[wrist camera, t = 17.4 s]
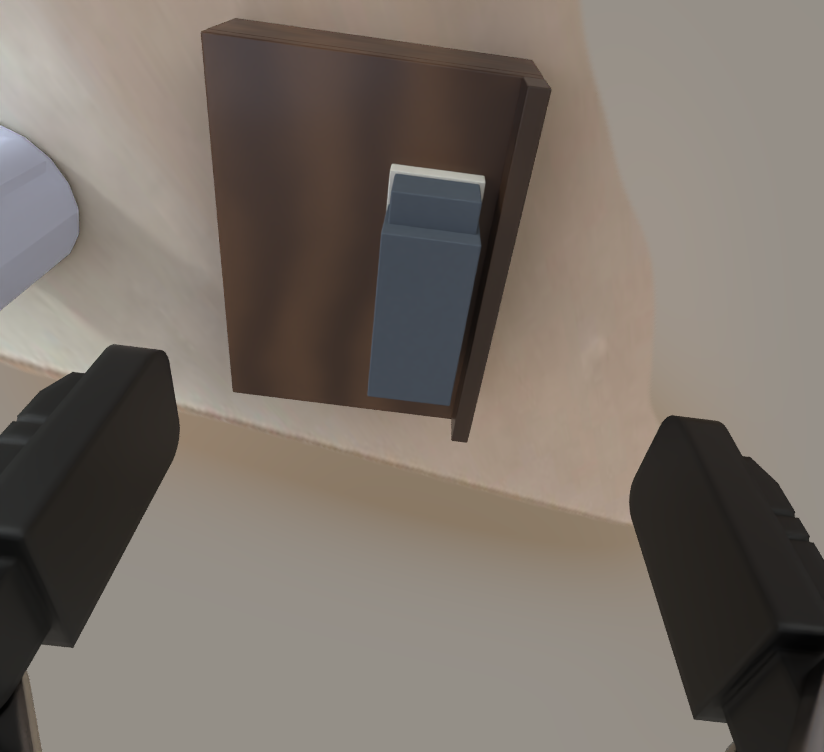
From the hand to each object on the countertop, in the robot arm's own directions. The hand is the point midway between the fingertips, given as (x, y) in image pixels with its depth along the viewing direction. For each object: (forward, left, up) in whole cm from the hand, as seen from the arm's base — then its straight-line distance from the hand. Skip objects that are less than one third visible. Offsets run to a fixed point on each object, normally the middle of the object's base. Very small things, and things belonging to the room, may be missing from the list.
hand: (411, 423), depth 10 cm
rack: (-3, -8, -26) cm, 27 cm away
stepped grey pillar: (+1, -8, -21) cm, 23 cm away
